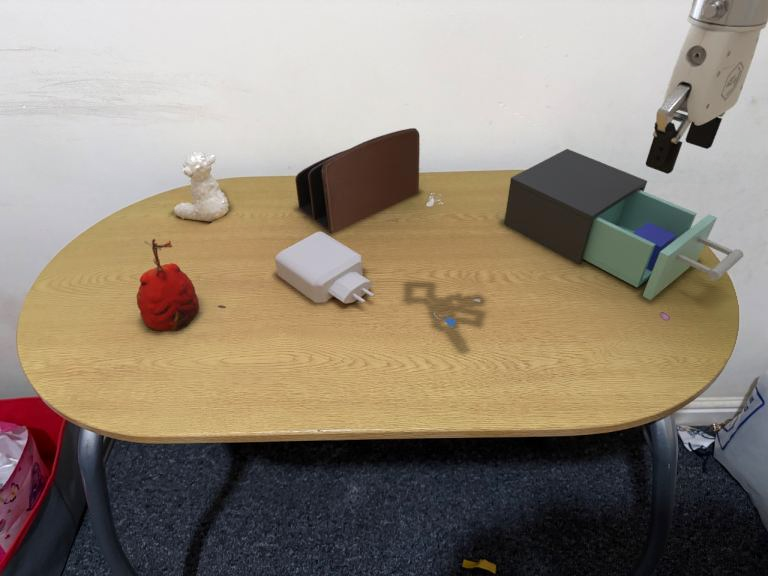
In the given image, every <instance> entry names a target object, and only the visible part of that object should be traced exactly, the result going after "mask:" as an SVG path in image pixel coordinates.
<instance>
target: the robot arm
mask: <svg viewBox="0 0 768 576" xmlns="http://www.w3.org/2000/svg"><path fill="white" fill-rule="evenodd" d="M687 22H688V23H689V24H690V27H689V29H688V31H687V34H686V37H685V38H684V41H683V43H682V46H681V49H680V51H679V54H678V56H677V59H676V60H675V64H674V67H673V69H672V73H671V75H670V78H669V80H668V84H667V87H666V90H665V94H664V97H663V101H662V103H661V105H660V107H659V108H658V109H657V111H656V117H655V119H656V121H655V123H654V127H653V129H654V131H653V133H652V137H653V139H652V142H651V145H650V148H649V151H648V154H647V157H646V160H645V166H646V167H648V168H651V169H653V170H656V171H659V172H662V173H663V174H667V175H668V174H671V173H672V172H673V171H674V168H675V165H676V163H677V159H678V157H679V154H680V151H681V149H682V144H683V141H681V139H682V137H683V136H684V134H685V132H687V133H686V136H685V142H686V143H687V144H689V145H693V146H696V147H700V148H701V149H706V150H708V149H710V148H712V146H713V143H714V141H715V138H716V136H717V133H718V131H719V129H720V125H721V123H722V120H723V117H724V115H725V114H726V112H728V111H729V110H731V109H732V108H733V107H734V106H735V105H736V104H737V102H738V101H739V99H740V95H741V93H742V90H743V87H744V84H745V82H746V78H747V76H748V73H749V70H750V68H751V64H752V61H753V60H754V59H753V58H754V55H755V53H756V49H757V45H758V43H759V39H760V35H761V31H762V30H763V29H765V28H766V27H767V24H768V0H692V3H691V6H690V10H689V13H688V17H687ZM678 111H681V112H683V113H681V112H678ZM685 113H687V114H685ZM672 121H675V122H678V123H680V124H679V125H678V127H677V128H676V126H675V125H676V124H675V123H674V122H672ZM687 129H688V131H687Z"/></svg>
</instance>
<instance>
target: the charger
mask: <svg viewBox="0 0 768 576" xmlns="http://www.w3.org/2000/svg"><path fill="white" fill-rule="evenodd" d="M274 261H275V267H276V272H277V276H278V277H279V278H281V280H283V281H284V282H286V283H287V284H289V285H290V286H292V287H293V288H294V289H296V290H297V291H298V292H299V293H301V294H303V295H304V296H305V297H307V298H308V299H310V300H311V301H312V302H313V303H317V304H318V303H326V302H328V301H329V300H331V299H332V298H336V299H338V300H339V301H341V302H342V303H343V304H352V303H354V302H356V301H359V302H360V303H362V304H365V303H366V300H365V299H364V298H362V297H363V296H365V295H367V296H370V297H371V298H374V297H375V294H374V293H373V292H371V291H370V289H371V287H372V286H373V284H374V283H373V282H372V281H371V280H369V279H368V278H366V277H365V276H363V257H362V255H361V254H359V253H358V252H356V251H355V250H353V249H351V248H349V247H348V246H346V245H344V244H343V243H341V242H340V241H338V240H336V239H335V238H333V237H331V236H330V235H328V234H326V232H323V231H317V232H314V233H312V234H311V235H309V236H307V237H305V238H303V239H301V240H299V241H298V242H296V243H294V244H292V245H290V246H289V247H286V248H285V249H283V250H281V251H280V252H279V253H278V254H277V255H276V256H275V258H274Z"/></svg>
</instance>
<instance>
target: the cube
mask: <svg viewBox="0 0 768 576" xmlns="http://www.w3.org/2000/svg"><path fill="white" fill-rule="evenodd" d="M633 234H635V235H637V236H639V237H642V238H644V239H646V240H648V241H650V242H652V243H654V244H656V245H655V247H654V250H653V253H652V255H651V258H650V260H649V263H648V266H647V268H646V269H648V270H650V271H652V270H653V268H654V266H655V263H656V261H657V258H658V256H659V253H660V251H662V250H663V249H664V248H666V247H667V246H668V245H670V244H671V243H672V242H673V241H674V240H675V238H676V234H673V233H671V232H669V231H667V230H665V229H662V228H660V227H658V226H656V225H653V224H651V223H649V222H648V223H646V224H645V225H644V226H642V227H641V228H639V229H638V230H637V231H635V232H634V233H633Z"/></svg>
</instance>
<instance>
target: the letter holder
mask: <svg viewBox="0 0 768 576" xmlns="http://www.w3.org/2000/svg"><path fill="white" fill-rule="evenodd" d="M420 137H421V136H420V132H419V130H418V129H417V128H415V127H412V128H405V129H399V130H396V131H391V132H389V133H386V134H383V135H378V136H376V137H373V138H370V139H368V140H366V141H363V142H361V143H359V144H357V145H354V146H352V147H350V148H348V149H345V150H342V151H340V152H339V151H338V152H337V153H334V154H332V155H330V156H327V157H325V158H323V159H320V160H318V161H317V162H315V163H313V164H311V165H309V166H307V167H305V168H304V169H302V170H300V171H299V172H298V173H297V174H296V176H295V188H296V195H297V202H298V203H297V205H298V211H299V212H301V213H302V214H304V215H305V216H306V217H308V218H309V219H310V220H312V221H313V222H314V223H316V224H317V225H318V226H320V227H321V228H322V229H324V230H325V231H326V232H328V233H329V234H334V233H336V232H339V231H341V230H343V229H345V228H347V227H349V226H351V225H353V224H355V223H358V222H360V221H361V220H364V219H366V218H368V217H371V216H372V215H373V216H374V215H375V214H376V213H378V212H381V211H383V210H385V209H387V208H390V207H391V206H394V205H396V204H398V203H400V202H403V201H405V200H407V199H408V198H411V197H414V196H415V195H418V194H420V149H421V148H420V147H421V146H420V145H421V144H420V141H421V139H420Z"/></svg>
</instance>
